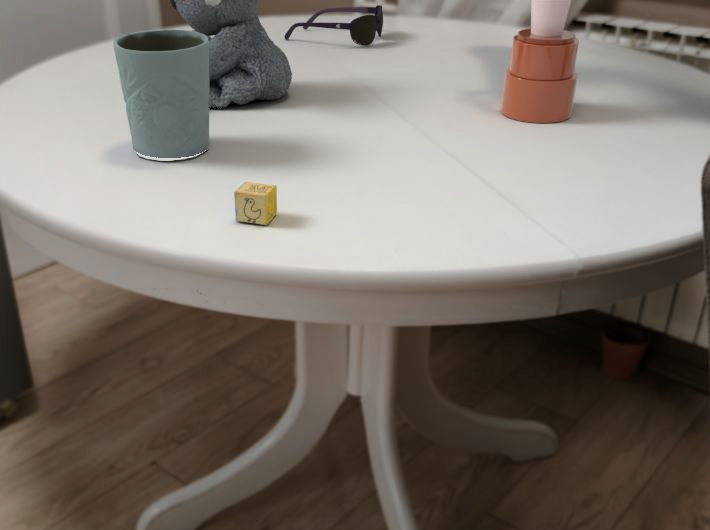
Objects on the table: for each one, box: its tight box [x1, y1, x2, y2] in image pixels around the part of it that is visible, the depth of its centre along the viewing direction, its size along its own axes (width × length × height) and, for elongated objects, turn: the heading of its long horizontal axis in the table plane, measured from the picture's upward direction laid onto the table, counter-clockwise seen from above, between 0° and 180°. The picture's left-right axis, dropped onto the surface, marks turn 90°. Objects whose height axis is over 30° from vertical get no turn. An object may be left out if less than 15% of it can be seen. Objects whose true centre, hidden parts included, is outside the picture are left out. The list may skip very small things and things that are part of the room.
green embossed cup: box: [112, 28, 210, 158], centre depth 88 cm, size 10×10×12 cm
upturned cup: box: [500, 27, 580, 124], centre depth 100 cm, size 9×9×10 cm
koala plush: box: [169, 0, 293, 109], centre depth 105 cm, size 17×18×20 cm
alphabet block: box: [233, 181, 278, 226], centre depth 74 cm, size 3×3×3 cm
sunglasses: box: [284, 4, 384, 47], centre depth 138 cm, size 14×16×5 cm
